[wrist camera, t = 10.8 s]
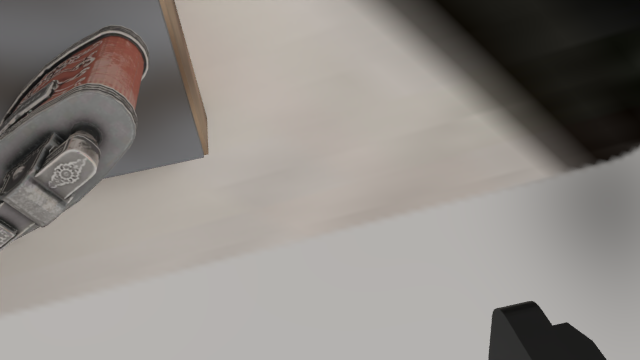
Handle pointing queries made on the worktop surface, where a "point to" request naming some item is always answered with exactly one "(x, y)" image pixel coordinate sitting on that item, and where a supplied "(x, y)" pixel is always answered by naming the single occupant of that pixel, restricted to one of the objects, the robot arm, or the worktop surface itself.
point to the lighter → (69, 128)
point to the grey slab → (155, 89)
